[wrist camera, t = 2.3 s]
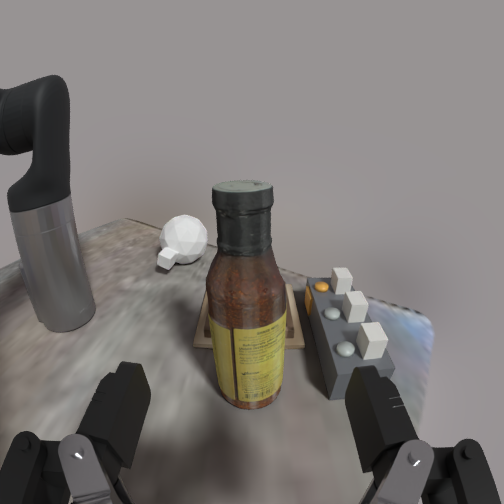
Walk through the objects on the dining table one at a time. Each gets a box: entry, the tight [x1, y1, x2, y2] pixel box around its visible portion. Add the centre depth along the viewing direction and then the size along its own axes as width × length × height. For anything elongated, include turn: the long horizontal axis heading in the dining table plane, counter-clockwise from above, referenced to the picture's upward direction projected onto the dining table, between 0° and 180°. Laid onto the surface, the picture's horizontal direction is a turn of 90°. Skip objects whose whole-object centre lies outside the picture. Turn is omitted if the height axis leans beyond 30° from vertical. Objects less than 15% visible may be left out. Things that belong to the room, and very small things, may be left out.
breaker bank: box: [304, 268, 395, 400], centre depth 32 cm, size 6×18×6 cm, turn 0°
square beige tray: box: [193, 284, 305, 349], centre depth 38 cm, size 13×14×2 cm
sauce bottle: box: [206, 180, 287, 410], centre depth 22 cm, size 7×6×20 cm
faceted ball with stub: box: [157, 215, 208, 270], centre depth 50 cm, size 9×9×12 cm
